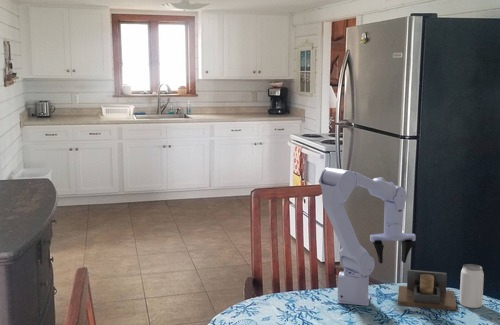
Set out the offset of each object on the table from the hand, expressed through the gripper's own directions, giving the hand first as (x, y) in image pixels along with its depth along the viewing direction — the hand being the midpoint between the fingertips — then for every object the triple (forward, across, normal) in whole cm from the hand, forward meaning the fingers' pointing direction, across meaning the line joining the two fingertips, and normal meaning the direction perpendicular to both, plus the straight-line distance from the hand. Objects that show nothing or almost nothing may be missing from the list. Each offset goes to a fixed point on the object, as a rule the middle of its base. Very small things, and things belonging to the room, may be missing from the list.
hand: (391, 262), depth 181 cm
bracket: (+9, +8, -9) cm, 15 cm away
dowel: (+8, +8, -10) cm, 15 cm away
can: (+10, +20, -14) cm, 27 cm away
